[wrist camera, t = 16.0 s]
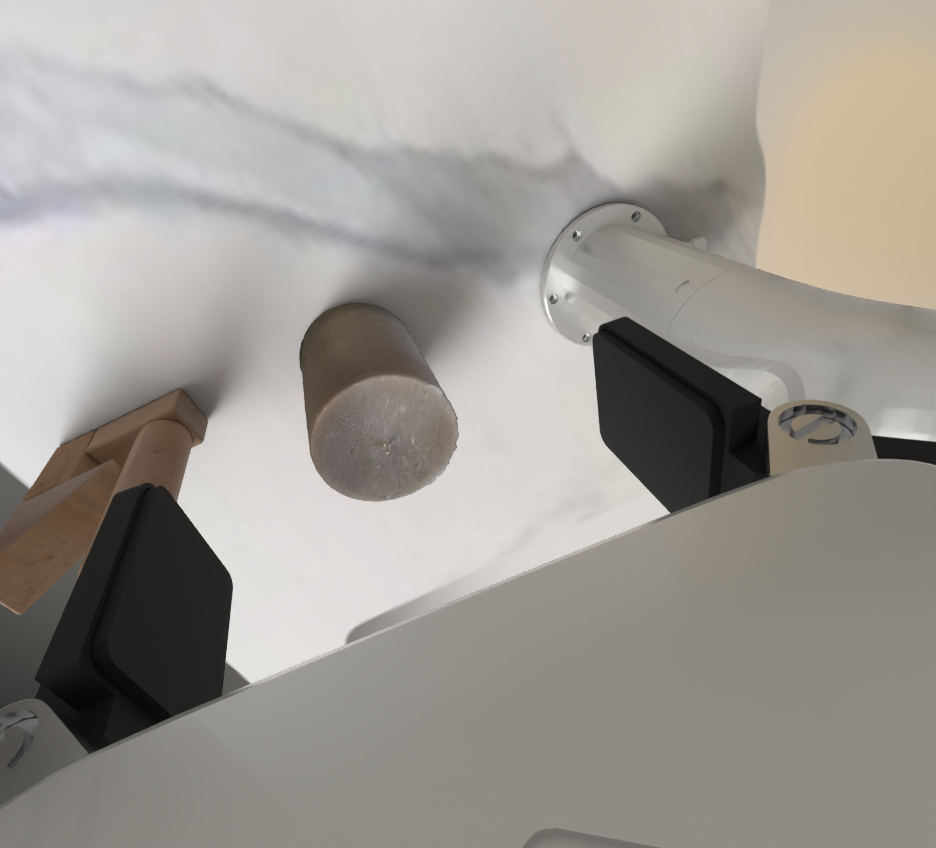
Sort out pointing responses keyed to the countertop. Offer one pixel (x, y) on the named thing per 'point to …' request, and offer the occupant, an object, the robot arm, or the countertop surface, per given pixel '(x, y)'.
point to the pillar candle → (373, 405)
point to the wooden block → (92, 492)
